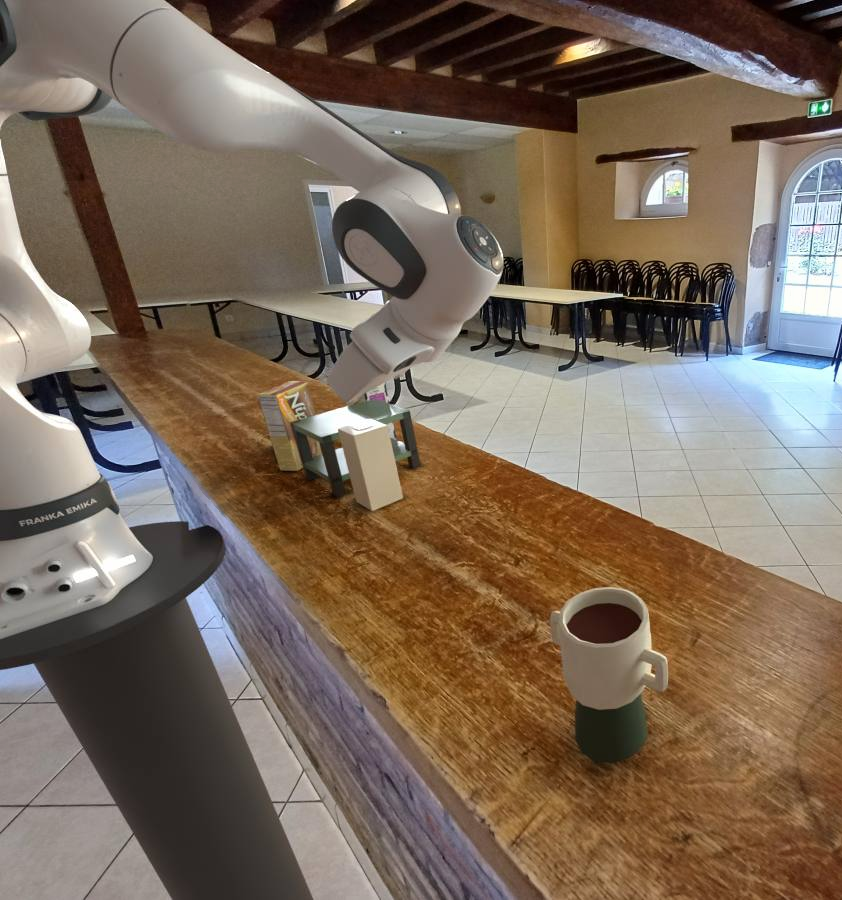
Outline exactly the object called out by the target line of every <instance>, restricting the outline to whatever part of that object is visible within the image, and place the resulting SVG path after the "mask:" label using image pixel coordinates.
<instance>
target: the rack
mask: <svg viewBox="0 0 842 900" xmlns="http://www.w3.org/2000/svg"><path fill="white" fill-rule="evenodd" d="M368 419H372V420H375V421H378V422H380V423H383V424H389V423H392V422H393V423H395V422H398V421H399V425H400V429H401V434H402V440H403V441H400V440H398V439H397V440H395V439H393V438H391V437H390V440H391V444H392V449H393V453H394V458H395V463H396V462H399V461H401V460H404V459H406V458H407V459H406V460H407V463H408V466H409V467H410V468H412V469H416V468H417V467H420V466H421V460H420V455H419V449H418V445H417V444H418V443H417V439H416V434H415V430H414V425H413V420H412V413H411V410H410V409H407V408H405V407H401V406H398V405H396V404H392V403H390V402H389V403H386V402H383V401H380V400H377V399H372V400H369V401H365V402H361V403H358V404H354V405H351V406H347V407H346V406H343V407H340V408H336V409H333V410H329V411H325V412H322V413H318V414H316V415H314V416H311V417H307V418H304V419H300V420H296V421H293V422H290V424H291V427H292V430H293V434H294V437H295V441H296V444H297V448H298V451H299V455H300V458H301V462H302V465H303V468H302V469H303V473H304V475H305V478H306V479H307V480H309V481H311V480H314V479H317V478H319V477H321V478H323V479H325V480H326V481H328V482H329V484H330V488H331V491H332V495H333V496H334V497H335V498H340V497H342V496H345V495H347V490H346V487H345V483H344V481H347V480H350V475H349V471H348V467H347V463H346V459H345V455H344V451H343V448H342V447H340V448H337V449H336V448H335V445H334V441H337V440H340V436H339V432H338V428H342V427H345V426H348V425H352V424H355V423H358V422H362V421H365V420H368ZM307 436H308V437H310V438H312V439H314V440H316V441H318V442H319V444H320V448H321V451H322V454H321V455H318V456H315V457H313V456H312V453H311V449H310V446H309V442H308V438H307Z"/></svg>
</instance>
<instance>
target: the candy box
mask: <svg viewBox="0 0 842 900" xmlns="http://www.w3.org/2000/svg"><path fill="white" fill-rule="evenodd" d="M310 391H311V390H310V387H309V383H308V381H303V380H290V381H286V382H285V383H282V384H280V385H277V386H275V387H273V388H270V389H268V390H265V391H263V392H261V393H258V394H257V397H258V398H259V399H258V401H259V400H260V403H259V405H260V404H261V406H260V408H261V407H262V410H263V413H262V415H263V414H264V416H263V418H264V417H265V420H264V422H265V421H266V423H265V425H266V424H267V427H268V430H267V432H268V431H269V433H268V435H269V434H270V437H271V440H270V442H271V441H272V443H271V445H272V444H273V446H272V448H273V450H274V455H275V457H276V460H277V464H278V467H279V470H280V471H285V472H286V471H287V472H288V471H291V472H298V471H300V470H301V469H304V468H303V465H302V462H301V458H300V455H299V451H298V448H297V444H296V441H295V437H294V434H293V430H292V427H291V424H290V422H293V421H296V420H300V419H304V418H307V417H311V416H314V415H317V414H316V411H315V406H314V403H313V399H312V395H311V392H310ZM262 410H261V411H262ZM267 427H266V428H267ZM270 437H269V438H270ZM307 438H308V442H309V446H310V449H311V453H312V456H313V457H315V456H318V455H321V454H322V451H321V448H320V444H319V442H318V441H316V440H314V439H312V438H310V437H308V436H307Z"/></svg>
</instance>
